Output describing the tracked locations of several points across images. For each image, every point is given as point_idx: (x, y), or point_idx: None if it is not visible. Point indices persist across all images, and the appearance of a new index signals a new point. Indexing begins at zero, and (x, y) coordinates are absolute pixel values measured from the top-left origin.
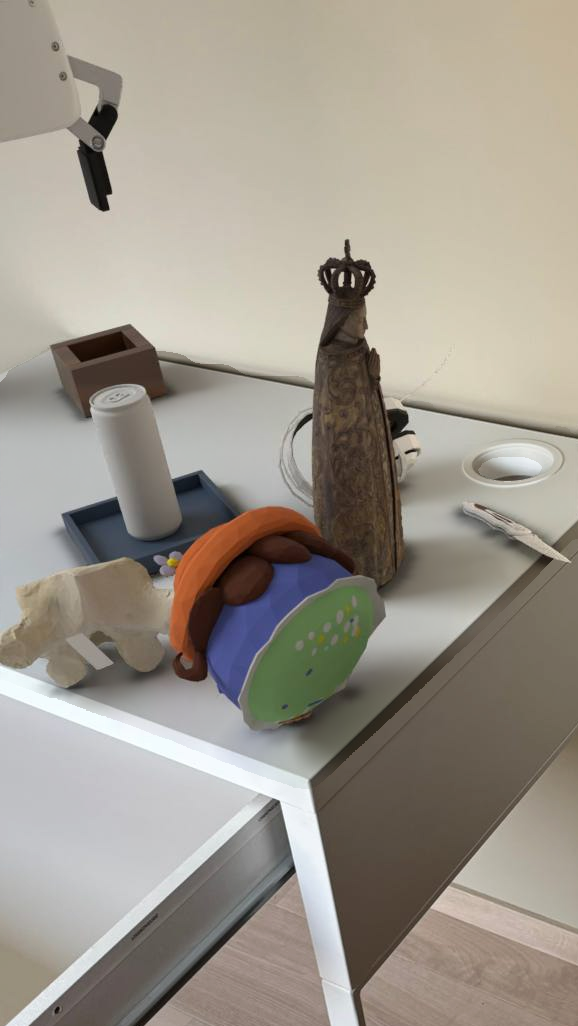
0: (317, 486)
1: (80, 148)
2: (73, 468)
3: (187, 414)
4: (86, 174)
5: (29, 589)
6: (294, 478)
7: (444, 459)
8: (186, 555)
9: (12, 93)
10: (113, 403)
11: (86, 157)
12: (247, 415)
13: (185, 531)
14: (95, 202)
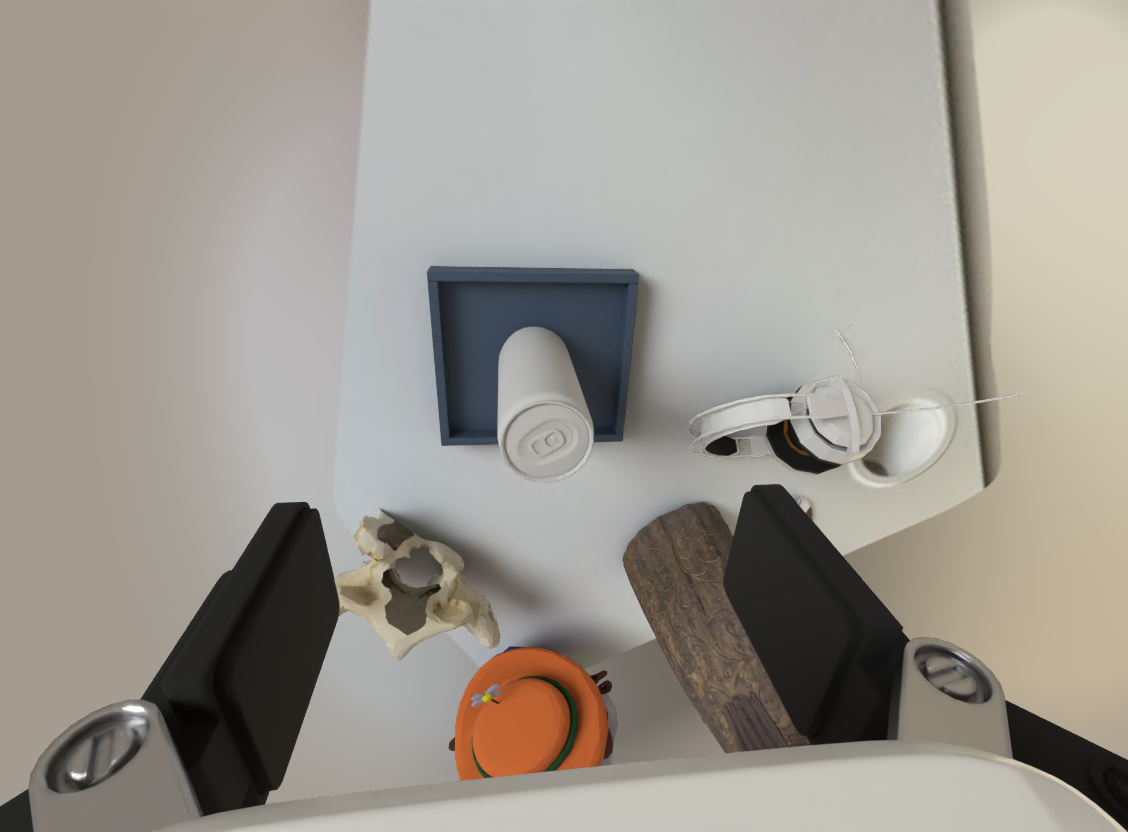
0: (659, 640)
1: (858, 662)
2: (485, 30)
3: None
4: (782, 614)
5: (352, 612)
6: (702, 423)
7: (868, 392)
8: (488, 772)
9: None
10: (533, 460)
11: (804, 733)
12: (804, 50)
13: None
14: (737, 563)
